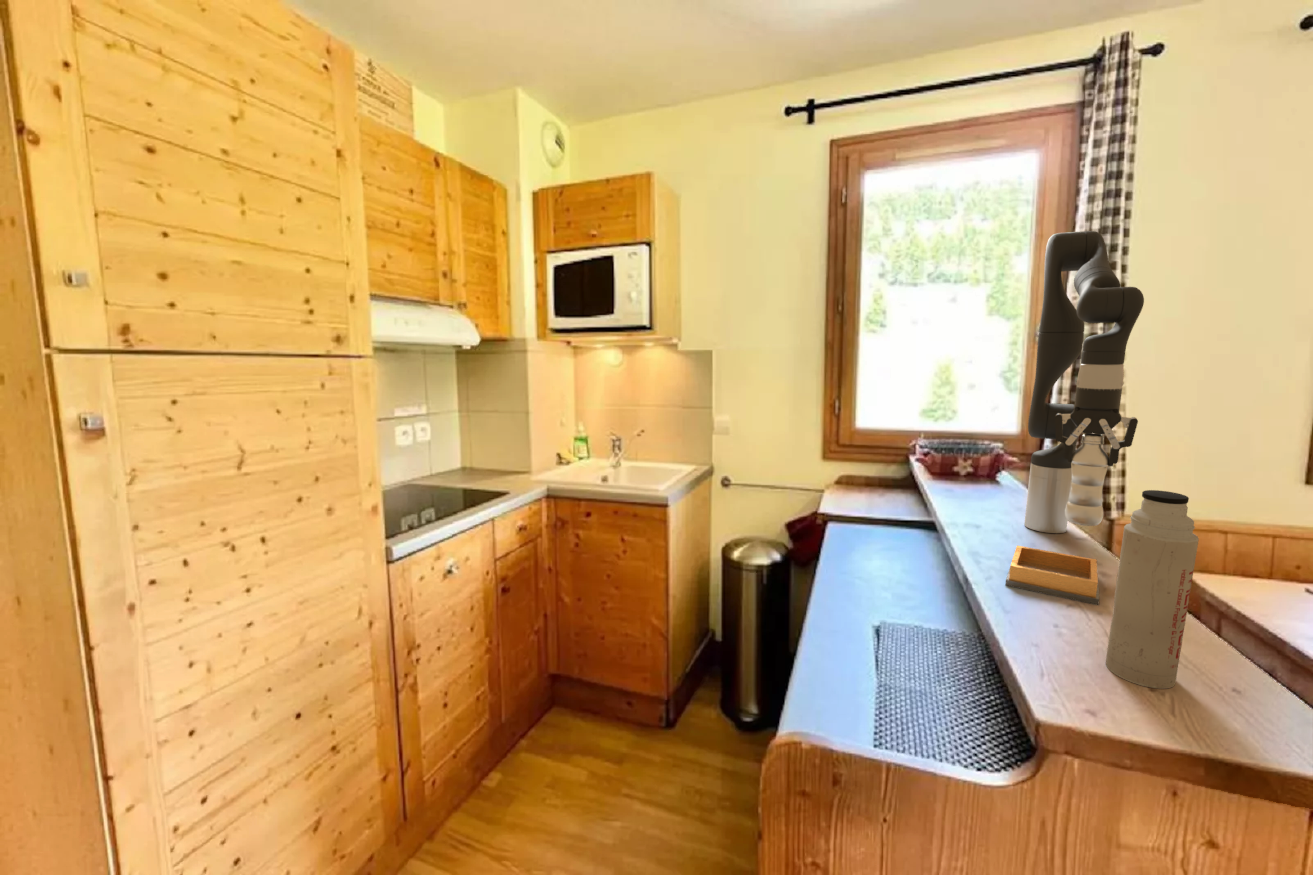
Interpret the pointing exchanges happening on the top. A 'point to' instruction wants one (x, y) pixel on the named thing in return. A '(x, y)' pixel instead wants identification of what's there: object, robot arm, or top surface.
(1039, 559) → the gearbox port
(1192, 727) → the top surface
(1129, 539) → the thermos bottle
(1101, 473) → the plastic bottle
